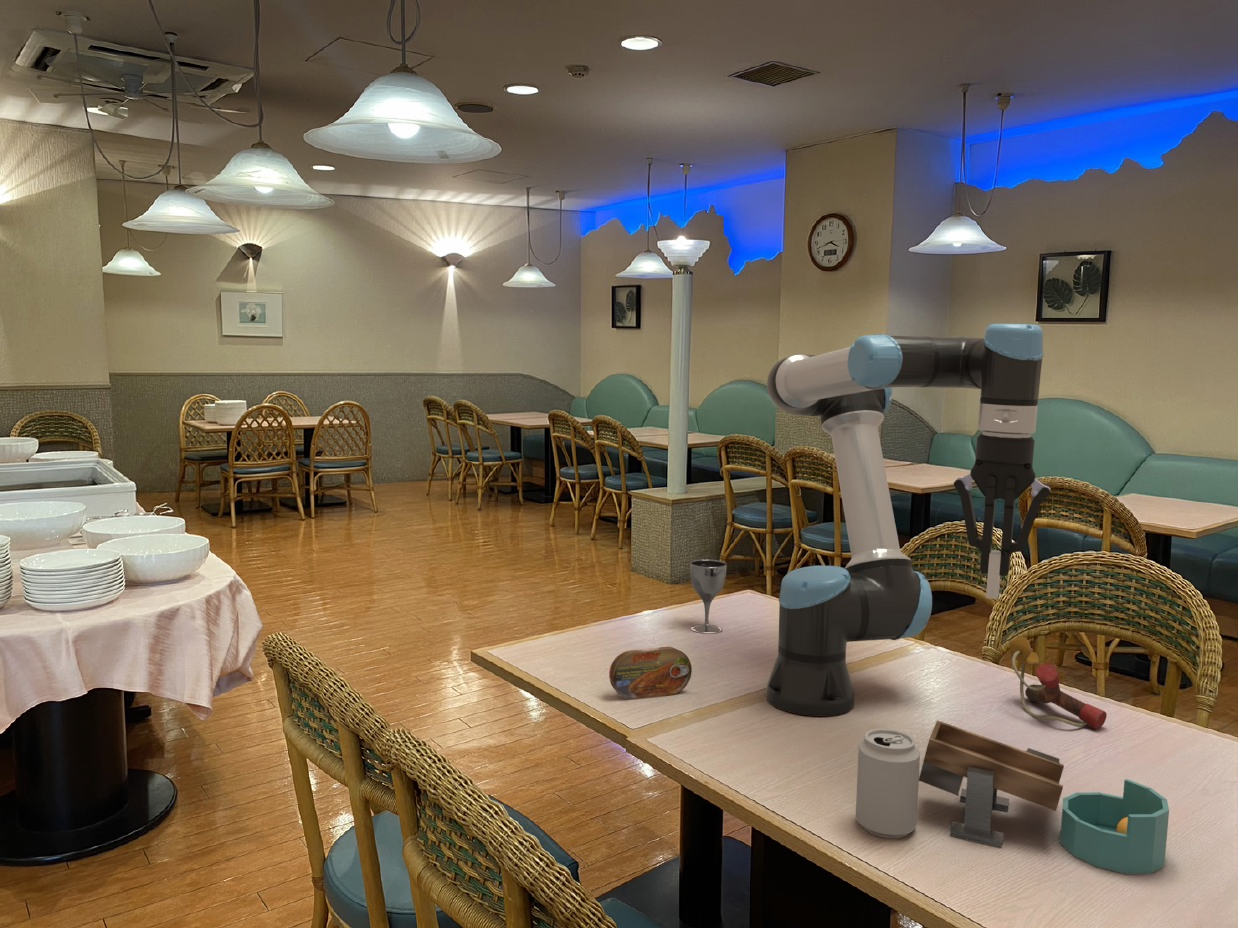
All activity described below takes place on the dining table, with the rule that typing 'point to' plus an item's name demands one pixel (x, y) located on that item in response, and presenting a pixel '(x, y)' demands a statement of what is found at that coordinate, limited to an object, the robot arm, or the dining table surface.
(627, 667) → the tin
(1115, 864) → the teal container
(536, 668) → the dining table surface
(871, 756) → the can
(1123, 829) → the ball
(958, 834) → the stand
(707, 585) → the wine glass
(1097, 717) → the slingshot
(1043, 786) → the lever
